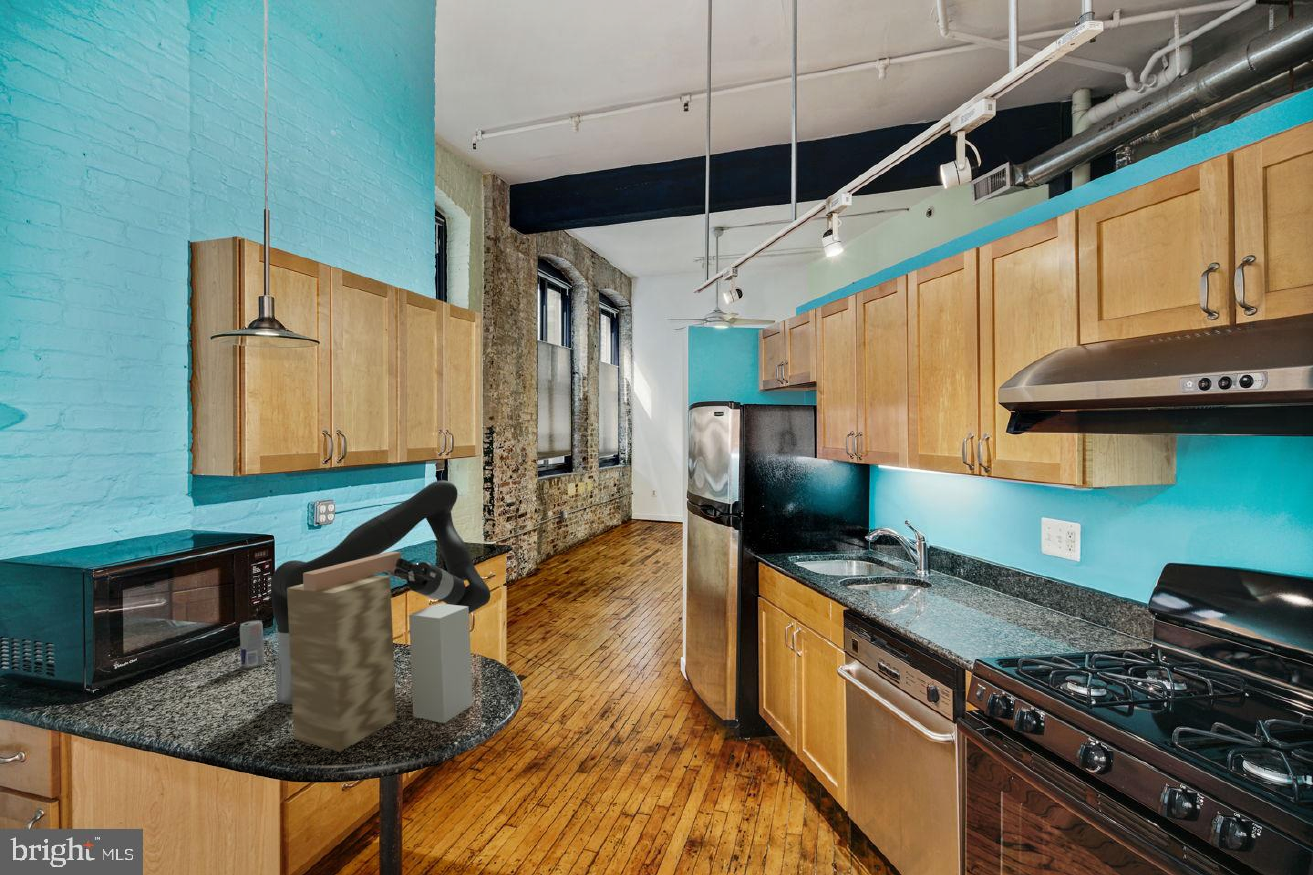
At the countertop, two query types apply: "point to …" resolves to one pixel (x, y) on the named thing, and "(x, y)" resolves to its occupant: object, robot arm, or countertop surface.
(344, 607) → the oak stand
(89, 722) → the countertop surface
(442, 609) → the grey block
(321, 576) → the terracotta bar
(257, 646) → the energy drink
